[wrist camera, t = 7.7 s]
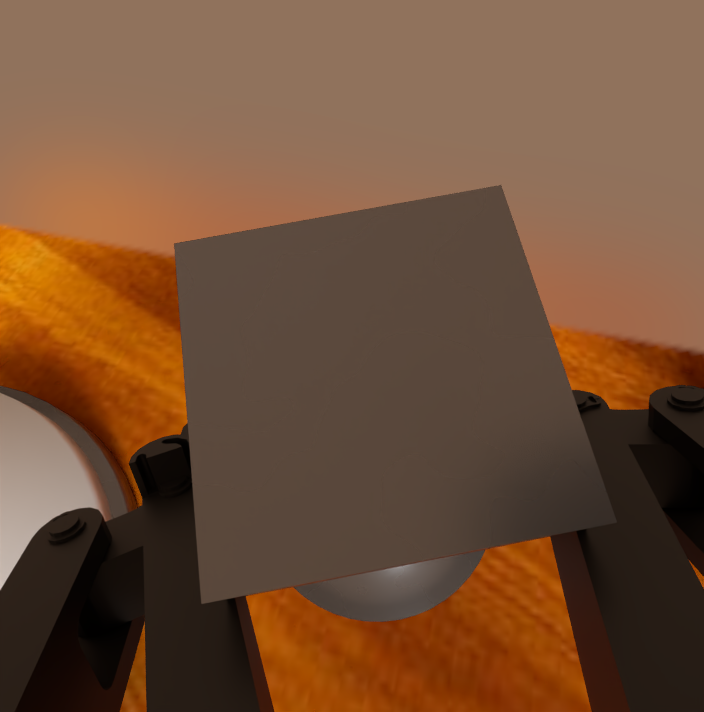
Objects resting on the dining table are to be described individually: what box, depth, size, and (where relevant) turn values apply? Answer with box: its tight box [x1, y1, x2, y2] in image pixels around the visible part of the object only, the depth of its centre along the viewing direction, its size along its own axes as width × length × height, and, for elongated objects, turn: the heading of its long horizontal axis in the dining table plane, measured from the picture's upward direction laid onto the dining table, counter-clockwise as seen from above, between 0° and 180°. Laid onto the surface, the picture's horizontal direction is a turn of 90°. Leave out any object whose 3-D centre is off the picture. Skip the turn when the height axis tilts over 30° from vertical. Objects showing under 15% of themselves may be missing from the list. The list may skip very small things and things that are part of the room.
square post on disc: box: [174, 185, 617, 622], centre depth 14 cm, size 8×8×14 cm
